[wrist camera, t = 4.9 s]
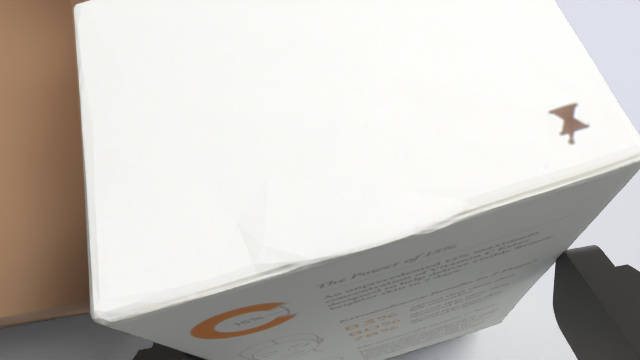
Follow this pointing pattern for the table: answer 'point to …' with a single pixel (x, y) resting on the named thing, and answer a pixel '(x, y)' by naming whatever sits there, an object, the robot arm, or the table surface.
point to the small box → (334, 168)
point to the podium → (41, 165)
